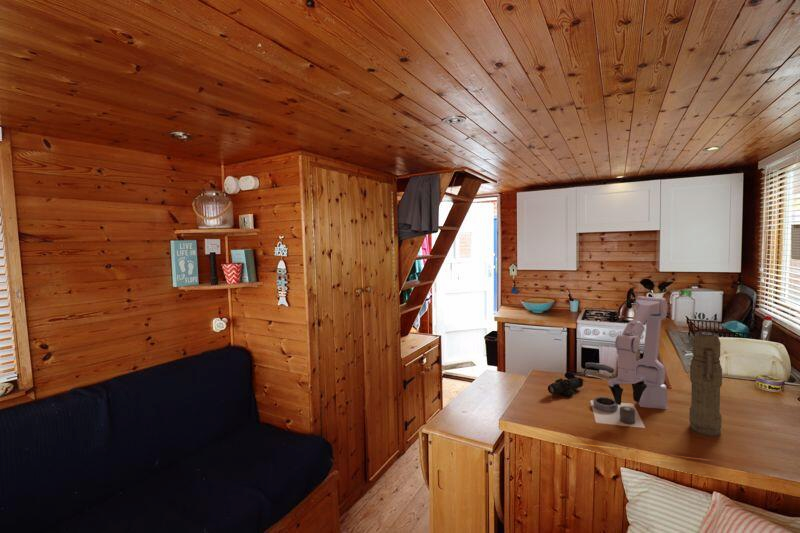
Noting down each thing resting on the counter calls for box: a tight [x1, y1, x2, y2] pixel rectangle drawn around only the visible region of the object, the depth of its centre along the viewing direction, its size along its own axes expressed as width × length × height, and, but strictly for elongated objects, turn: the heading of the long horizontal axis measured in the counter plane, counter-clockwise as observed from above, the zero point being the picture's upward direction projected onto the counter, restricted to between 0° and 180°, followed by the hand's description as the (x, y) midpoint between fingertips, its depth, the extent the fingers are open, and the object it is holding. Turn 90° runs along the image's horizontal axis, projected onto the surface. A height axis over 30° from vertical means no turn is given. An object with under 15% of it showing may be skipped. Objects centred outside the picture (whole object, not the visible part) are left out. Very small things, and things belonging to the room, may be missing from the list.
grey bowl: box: [592, 396, 618, 413], centre depth 157 cm, size 8×8×3 cm
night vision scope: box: [547, 371, 586, 398], centre depth 173 cm, size 8×18×10 cm
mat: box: [589, 399, 646, 429], centre depth 152 cm, size 16×20×1 cm
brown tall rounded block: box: [688, 330, 723, 438], centre depth 136 cm, size 9×12×35 cm
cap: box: [620, 407, 635, 424], centre depth 145 cm, size 5×5×5 cm
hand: (627, 402), depth 145 cm, fingers open, 7 cm apart
